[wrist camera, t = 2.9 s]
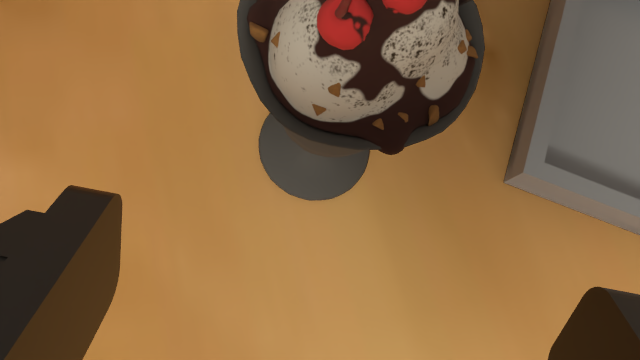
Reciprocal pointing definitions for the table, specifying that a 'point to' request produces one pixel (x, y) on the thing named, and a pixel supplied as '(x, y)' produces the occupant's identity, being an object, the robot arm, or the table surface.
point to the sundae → (354, 81)
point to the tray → (584, 112)
